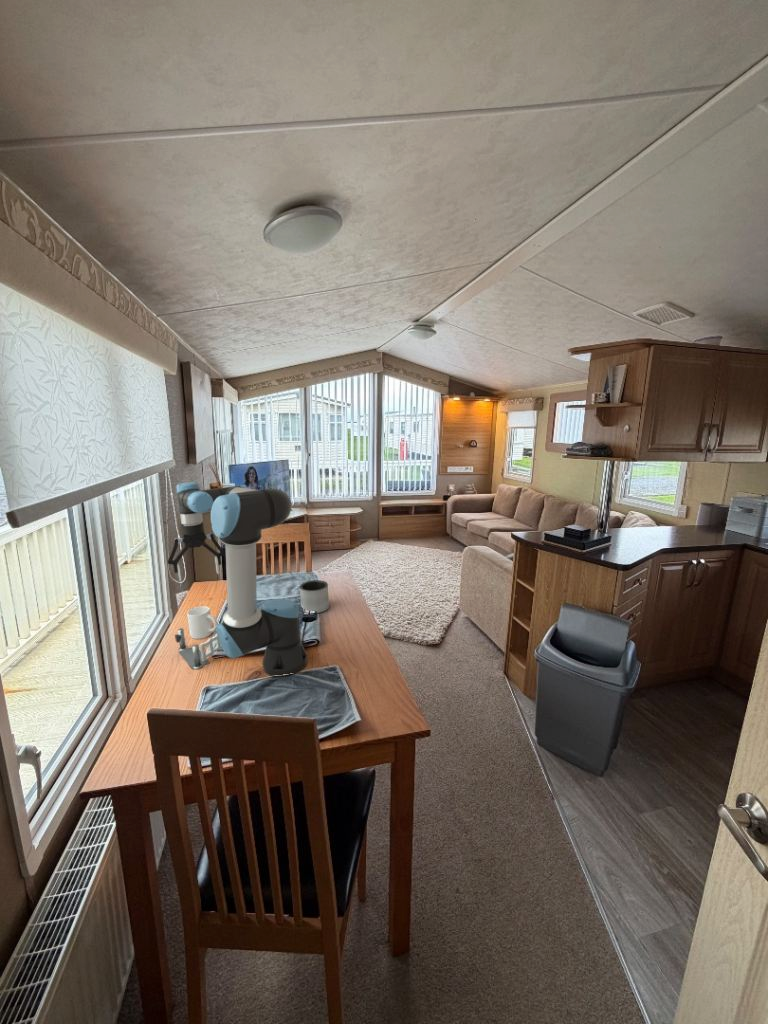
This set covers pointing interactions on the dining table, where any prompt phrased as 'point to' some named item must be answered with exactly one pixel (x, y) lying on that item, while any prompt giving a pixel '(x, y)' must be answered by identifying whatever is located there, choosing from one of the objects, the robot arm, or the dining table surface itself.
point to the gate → (211, 649)
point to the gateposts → (181, 640)
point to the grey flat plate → (191, 657)
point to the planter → (314, 595)
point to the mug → (200, 622)
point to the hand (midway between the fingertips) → (199, 576)
